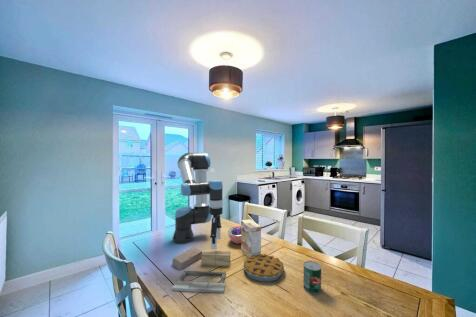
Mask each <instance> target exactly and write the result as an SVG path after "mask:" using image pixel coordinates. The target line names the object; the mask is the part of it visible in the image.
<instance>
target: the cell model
mask: <svg viewBox="0 0 476 317" xmlns="http://www.w3.org/2000/svg"><path fill="white" fill-rule="evenodd" d="M226 233H227V236H228V238H229V239H230V241H231V242H233V243H234V244H240V245H241V226H240V225H239V226H233V227H229V230H228V231H227V232H226Z"/></svg>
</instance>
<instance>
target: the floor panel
mask: <svg viewBox="0 0 476 317" xmlns="http://www.w3.org/2000/svg"><path fill="white" fill-rule="evenodd" d="M187 275H189V276H208V277H221V278H220V282H204V281H203V282H202V281H200V282H199V281H184V280H185V278H186V276H187ZM225 280H226V272H223V271H199V270H183V272H182V274H181V276H180V278H179V280H178V281H177V280H176V281H175V283H174V284H173V286H172V287H171V291H173V292H174V291H175V292H178V291H179V292H197V293H214V294H215V293H217V294H219V293H220V294H224V293H225V289H226V283H225Z"/></svg>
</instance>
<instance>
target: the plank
mask: <svg viewBox="0 0 476 317" xmlns="http://www.w3.org/2000/svg"><path fill="white" fill-rule="evenodd" d="M200 259H201V260H200V261H201V262H200V263H201V266H221V267H230V264H231V250H207V249H206V250H205V249H204V250H202V254H201V258H200Z"/></svg>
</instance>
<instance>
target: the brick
mask: <svg viewBox="0 0 476 317" xmlns="http://www.w3.org/2000/svg"><path fill="white" fill-rule="evenodd" d="M202 252H203V250H202V249H198V248H196V247H191V248H190V249H187V250H186V251H185V252H182V253H180V254H178V255H176V256H174V257H173V258H172V266H173V267H175V268H176V269H179V270H183V269H185V268H186V267H188V266H190V265H191V264H193V263H195V262H197V261H198V260H200V259H201V254H202Z"/></svg>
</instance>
